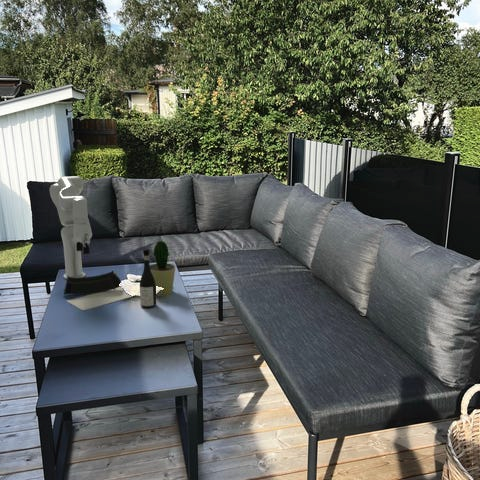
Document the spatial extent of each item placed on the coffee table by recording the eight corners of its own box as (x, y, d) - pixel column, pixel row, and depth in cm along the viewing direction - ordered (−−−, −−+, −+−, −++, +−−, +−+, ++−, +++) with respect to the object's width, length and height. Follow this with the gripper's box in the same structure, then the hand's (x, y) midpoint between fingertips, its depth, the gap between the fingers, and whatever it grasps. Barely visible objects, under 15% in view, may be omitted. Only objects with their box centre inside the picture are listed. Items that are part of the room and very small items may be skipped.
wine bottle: (152, 309, 243) (150, 252, 236) (138, 308, 244) (135, 251, 237) (158, 303, 250) (156, 248, 243) (144, 302, 252) (141, 247, 245)
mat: (66, 301, 253) (66, 300, 253) (121, 287, 275) (121, 286, 275) (82, 310, 240) (82, 310, 240) (139, 295, 263) (139, 294, 263)
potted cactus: (145, 289, 271) (143, 237, 264) (172, 286, 277) (171, 235, 270) (150, 298, 257) (148, 244, 250) (178, 295, 263) (177, 242, 256)
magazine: (57, 281, 256) (111, 260, 263) (57, 279, 259) (111, 258, 266) (70, 309, 261) (123, 287, 268) (70, 307, 264) (122, 286, 271)
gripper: (67, 219, 266) (69, 250, 270) (82, 224, 254) (84, 256, 258) (79, 217, 271) (82, 248, 275) (95, 222, 259) (97, 254, 263)
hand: (83, 251), depth 266 cm, fingers open, 7 cm apart
